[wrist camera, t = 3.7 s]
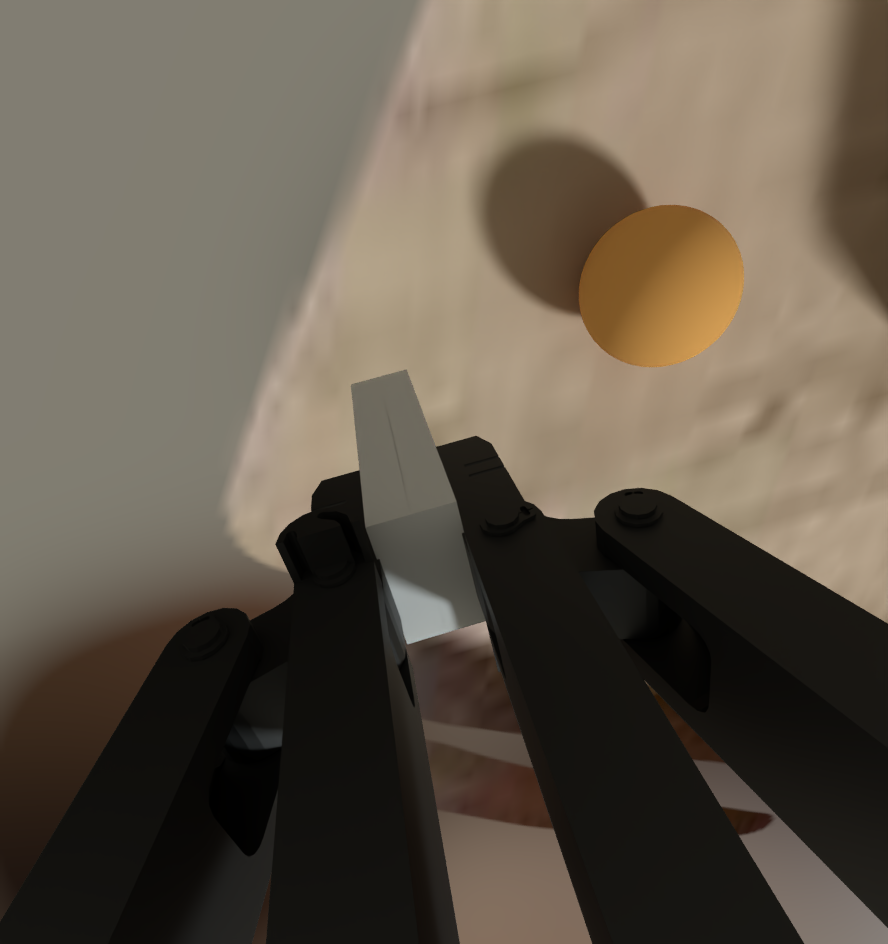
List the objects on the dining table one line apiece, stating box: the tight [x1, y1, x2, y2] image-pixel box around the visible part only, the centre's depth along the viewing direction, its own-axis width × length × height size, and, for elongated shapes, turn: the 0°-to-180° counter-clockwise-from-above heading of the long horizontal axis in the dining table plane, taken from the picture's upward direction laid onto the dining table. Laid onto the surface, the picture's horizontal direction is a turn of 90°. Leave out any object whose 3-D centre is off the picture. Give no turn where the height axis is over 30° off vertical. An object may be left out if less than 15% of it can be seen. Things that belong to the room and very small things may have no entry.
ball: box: [579, 205, 744, 367], centre depth 20 cm, size 6×6×6 cm
